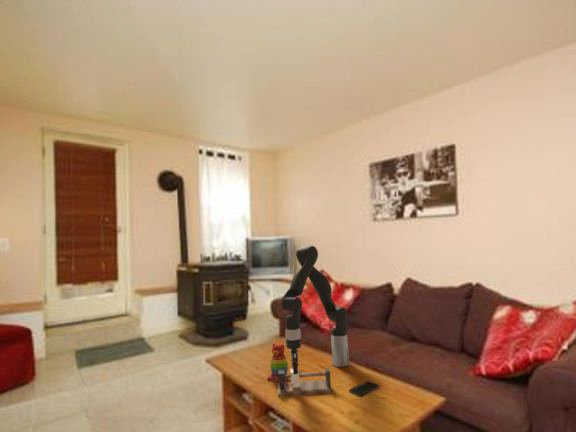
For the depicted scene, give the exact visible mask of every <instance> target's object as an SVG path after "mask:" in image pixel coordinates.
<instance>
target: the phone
mask: <svg viewBox="0 0 576 432" xmlns="http://www.w3.org/2000/svg"><path fill="white" fill-rule="evenodd" d="M379 388H380V385H379V384H377V383H375V382H372V381H365V382H362V383H360V384H358V385H356V386H354V387H352V388H350V389H348V392H349V393H350V394H352V395H355V396H357V397H358V398H361V397H364V396H366V395H368V394H370V393H372V392H374V391H376V390H377V389H379Z"/></svg>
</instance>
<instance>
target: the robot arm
mask: <svg viewBox="0 0 576 432" xmlns="http://www.w3.org/2000/svg"><path fill="white" fill-rule="evenodd" d="M295 256H296V259H297V261H298V264H299V265H300V267H301V268H299V269H298V270H297V272H296V273H295V274H294V276H293V277H292V279H291V283H290V286H289V288H288V289H287V291H286V292H285V294H283V296H282V299H281V301H280V307H281V310H283V311H287V312H292V314H289V315H287V316H285V322H284V323H285V344H286V345H285V346H286V348H287V349H290V350H289V354H290V355H289V356H290V359H291V367H292V369H293V374H298V370H299V368H298V367H299V350H298V349H300V348H301V347H302V337H301V336H302V333H301V326H300V325H301V324H300V319H301V318H300V317H301V311H302V307H303V302H302V299H301V298H300V296H302V294H303V291H304V288H305V286H306V283H307V281H308V279H309V281H310V283H311V284H312V286H313V289H314V290H315V292H316V294H317V296H318V298H319V300H320V302H321V304H322V307H323V309H324V311H325V314H326V317H327V318H328V319H329V321H331V322H334V323H335V327H332V328H331V330H330V337H331V338H330V341H331V342H330V344H331V360H332V365H333V366H334V367H337V368H338V367H339V368H344V367H347V366H350V352H349V346H348V329H349V315H348V311H347V308H345V307H344V306H338V305H336V303H335V302H334V300H333V299H332V293H333V292H332V286H331V284H330V281H329V279H328V277H327V276H326V275H325V274H324V273H323V272H321V271H320V270H319V269H317V268H316V267H315V264H316V263H317V261H318V257H319V252H318V248H317V247H315V246H314V245H309V246H303V247H299V248H297V249H296V253H295Z"/></svg>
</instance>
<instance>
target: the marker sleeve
mask: <svg viewBox="0 0 576 432" xmlns="http://www.w3.org/2000/svg"><path fill="white" fill-rule="evenodd" d="M289 371H290V373H289V374H291V378H290V382H291V383H300V382H301V381H300V377H299V374H300V371H299V369H298V374H293V368H290V369H289Z"/></svg>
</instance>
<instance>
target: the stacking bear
mask: <svg viewBox="0 0 576 432" xmlns="http://www.w3.org/2000/svg"><path fill="white" fill-rule="evenodd" d="M271 353H272V356H271V359H270V371H271V374H269V375H268V376H267V378H266V379H267V381H269V380H276V381H275V382H278V381H279V377H278V371H279V370H284V373H285V375H287V374H288V368H289V363H288V360H287V357H286V354H285V345H284V344H283V343H282V344H280V343H276V344H275V343H274V344H272V348H271ZM288 379H289V378H285V381H286V382H287V381H288Z"/></svg>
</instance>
